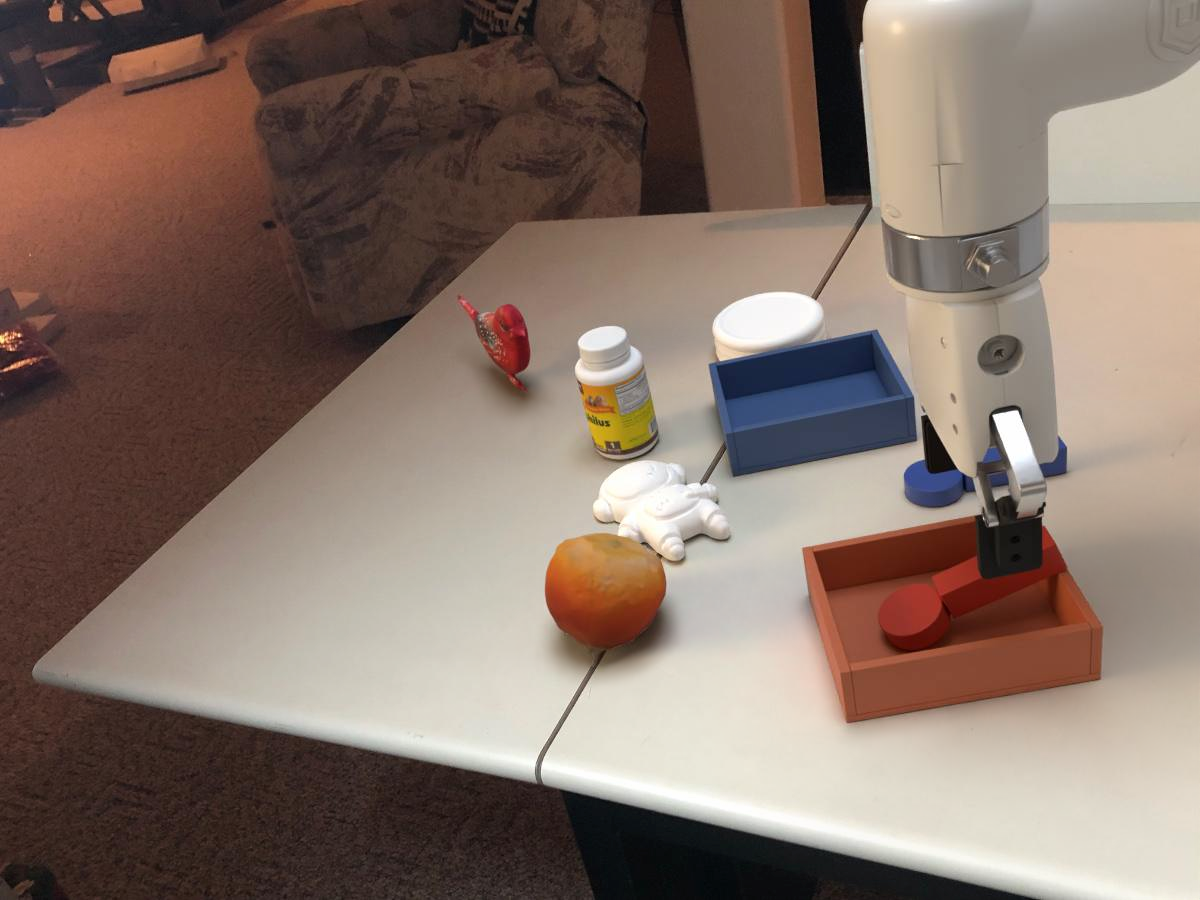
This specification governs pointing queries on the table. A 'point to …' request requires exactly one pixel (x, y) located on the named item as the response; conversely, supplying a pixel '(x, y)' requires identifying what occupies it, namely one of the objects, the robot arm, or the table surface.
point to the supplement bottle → (615, 394)
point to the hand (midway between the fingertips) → (979, 515)
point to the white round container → (767, 324)
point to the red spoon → (955, 598)
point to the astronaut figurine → (660, 506)
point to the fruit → (604, 590)
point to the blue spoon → (963, 479)
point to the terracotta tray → (971, 643)
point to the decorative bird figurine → (503, 338)
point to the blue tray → (812, 402)
